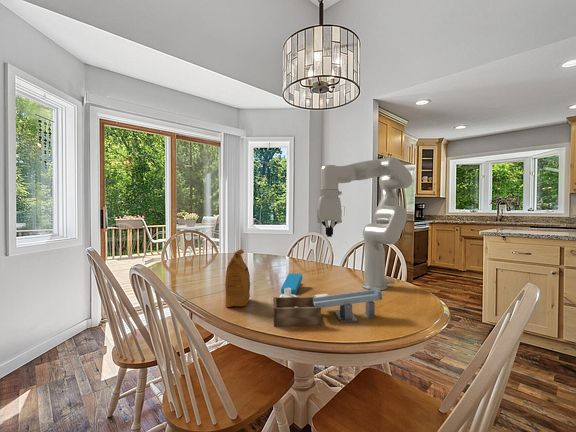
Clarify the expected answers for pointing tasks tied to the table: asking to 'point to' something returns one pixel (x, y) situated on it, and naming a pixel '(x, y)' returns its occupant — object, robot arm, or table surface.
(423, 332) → the table surface
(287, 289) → the teacup and saucer
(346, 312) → the stand
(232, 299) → the coffee package
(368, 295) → the lever
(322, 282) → the table surface
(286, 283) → the blue rectangular block
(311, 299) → the box
